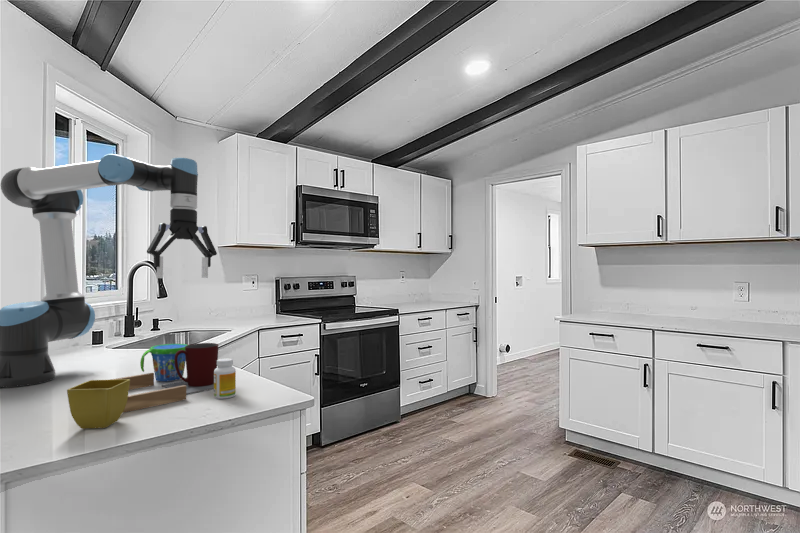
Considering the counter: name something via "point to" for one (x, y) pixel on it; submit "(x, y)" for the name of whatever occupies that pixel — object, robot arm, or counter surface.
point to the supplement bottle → (224, 379)
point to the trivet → (189, 387)
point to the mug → (199, 363)
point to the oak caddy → (151, 393)
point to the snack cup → (166, 361)
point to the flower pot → (98, 402)
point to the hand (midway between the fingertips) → (183, 278)
